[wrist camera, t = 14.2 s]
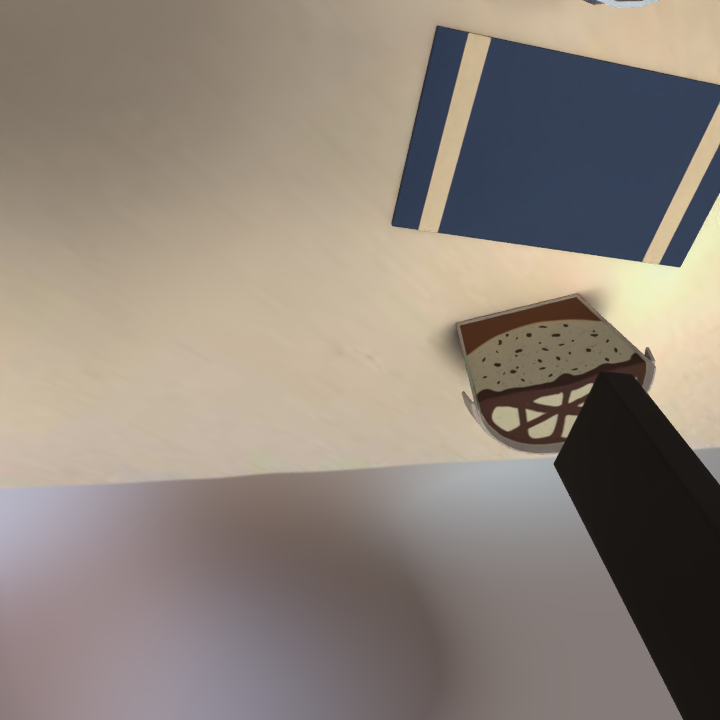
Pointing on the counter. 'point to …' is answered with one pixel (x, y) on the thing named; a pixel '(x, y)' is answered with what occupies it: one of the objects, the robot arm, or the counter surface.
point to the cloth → (560, 151)
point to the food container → (542, 369)
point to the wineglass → (621, 3)
